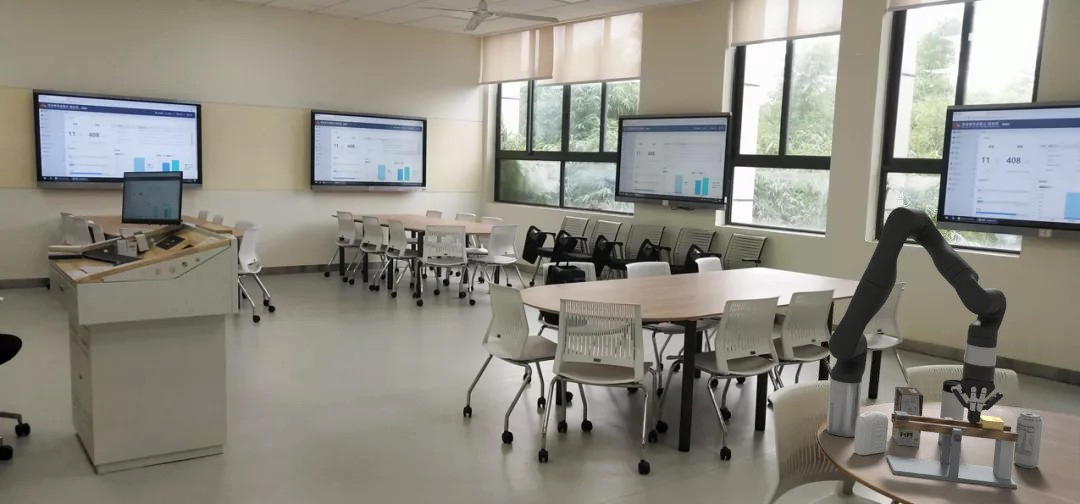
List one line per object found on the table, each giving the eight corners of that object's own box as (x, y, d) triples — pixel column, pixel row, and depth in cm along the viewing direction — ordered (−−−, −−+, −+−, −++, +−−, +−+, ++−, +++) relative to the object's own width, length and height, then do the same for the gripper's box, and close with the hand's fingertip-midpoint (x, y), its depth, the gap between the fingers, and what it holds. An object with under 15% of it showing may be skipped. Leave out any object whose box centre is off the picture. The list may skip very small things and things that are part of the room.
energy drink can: (1043, 468, 220) (1048, 416, 218) (1026, 469, 218) (1031, 418, 217) (1024, 460, 226) (1029, 410, 224) (1008, 462, 224) (1012, 411, 223)
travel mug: (965, 448, 234) (970, 384, 232) (941, 446, 236) (946, 382, 234) (958, 441, 240) (963, 378, 238) (935, 439, 242) (940, 376, 240)
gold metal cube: (981, 432, 210) (983, 419, 209) (977, 427, 214) (978, 415, 213) (1002, 435, 208) (1004, 422, 208) (997, 430, 212) (999, 417, 212)
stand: (893, 474, 213) (897, 425, 211) (886, 458, 225) (889, 411, 223) (1017, 489, 205) (1021, 437, 203) (1002, 471, 217) (1006, 422, 215)
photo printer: (876, 447, 233) (879, 407, 232) (888, 452, 230) (891, 411, 228) (851, 452, 229) (854, 411, 228) (862, 457, 225) (865, 415, 224)
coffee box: (920, 447, 235) (924, 395, 233) (897, 445, 236) (901, 393, 234) (912, 437, 243) (916, 387, 242) (890, 435, 245) (894, 385, 243)
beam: (895, 431, 214) (896, 416, 214) (890, 423, 221) (892, 408, 220) (1017, 445, 206) (1018, 429, 206) (1008, 436, 213) (1010, 421, 213)
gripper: (956, 362, 208) (949, 424, 210) (1011, 367, 205) (1004, 430, 206) (949, 355, 215) (943, 416, 217) (1002, 360, 212) (996, 422, 214)
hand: (973, 423), depth 212 cm, fingers closed
